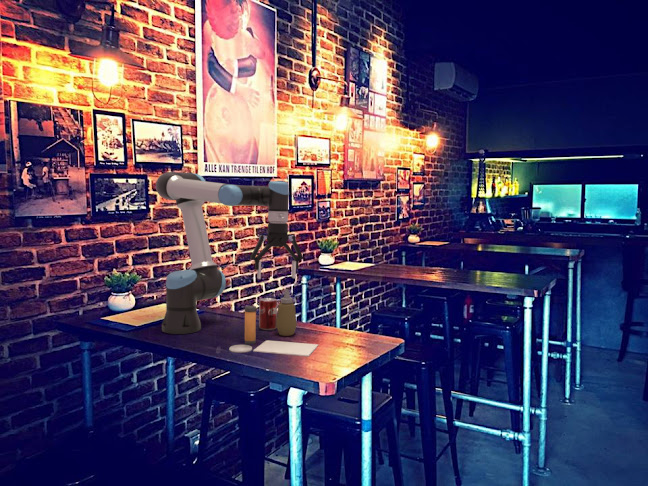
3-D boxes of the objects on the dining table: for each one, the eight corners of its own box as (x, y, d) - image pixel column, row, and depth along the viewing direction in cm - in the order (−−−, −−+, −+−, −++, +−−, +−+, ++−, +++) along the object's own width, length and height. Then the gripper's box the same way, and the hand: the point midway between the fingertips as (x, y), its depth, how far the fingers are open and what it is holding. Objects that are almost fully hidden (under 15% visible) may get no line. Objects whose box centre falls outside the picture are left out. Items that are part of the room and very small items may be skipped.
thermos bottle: (242, 343, 196) (242, 307, 195) (246, 341, 200) (247, 305, 199) (253, 344, 195) (253, 308, 194) (257, 341, 199) (257, 306, 198)
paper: (253, 351, 187) (253, 350, 187) (266, 341, 200) (266, 340, 200) (308, 356, 182) (308, 355, 182) (318, 345, 196) (318, 344, 196)
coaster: (225, 351, 186) (225, 349, 186) (234, 345, 194) (234, 343, 194) (247, 353, 184) (247, 351, 184) (255, 347, 192) (255, 345, 192)
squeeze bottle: (300, 333, 213) (300, 288, 212) (290, 338, 206) (291, 291, 204) (282, 330, 217) (282, 286, 215) (272, 335, 209) (272, 289, 208)
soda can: (278, 326, 224) (278, 298, 223) (275, 330, 216) (275, 301, 215) (261, 325, 224) (261, 297, 223) (257, 330, 217) (257, 300, 216)
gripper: (247, 222, 195) (246, 280, 196) (312, 223, 203) (310, 279, 205) (243, 221, 202) (242, 277, 204) (306, 222, 210) (304, 275, 212)
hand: (276, 278), depth 204 cm, fingers open, 13 cm apart
